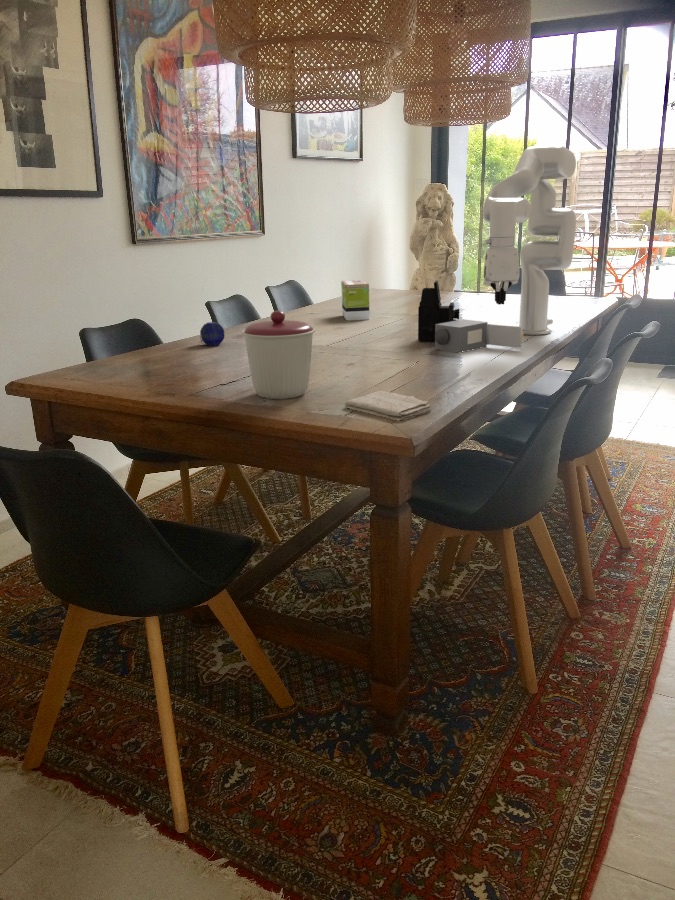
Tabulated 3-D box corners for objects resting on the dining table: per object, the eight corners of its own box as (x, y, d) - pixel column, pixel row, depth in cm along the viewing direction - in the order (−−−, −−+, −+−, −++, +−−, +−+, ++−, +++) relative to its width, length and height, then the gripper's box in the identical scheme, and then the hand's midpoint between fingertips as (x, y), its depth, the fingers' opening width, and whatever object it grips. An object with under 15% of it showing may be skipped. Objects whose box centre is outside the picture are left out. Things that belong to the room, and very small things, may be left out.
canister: (331, 395, 187) (329, 310, 180) (268, 408, 177) (263, 318, 171) (292, 383, 201) (289, 304, 194) (232, 393, 191) (227, 310, 185)
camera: (457, 343, 251) (459, 282, 244) (417, 343, 253) (417, 282, 247) (458, 338, 260) (460, 279, 254) (419, 338, 263) (420, 279, 256)
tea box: (341, 315, 319) (340, 280, 315) (364, 314, 320) (364, 279, 316) (345, 320, 305) (345, 283, 301) (370, 319, 306) (369, 283, 302)
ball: (203, 347, 254) (201, 325, 252) (198, 344, 261) (197, 322, 258) (226, 345, 257) (225, 323, 254) (221, 342, 264) (219, 320, 261)
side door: (485, 344, 243) (486, 324, 241) (488, 343, 244) (489, 323, 242) (520, 348, 236) (521, 327, 234) (522, 347, 237) (523, 326, 235)
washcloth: (401, 424, 164) (401, 410, 163) (342, 410, 176) (342, 397, 175) (434, 412, 172) (434, 399, 171) (375, 400, 184) (375, 387, 183)
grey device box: (462, 343, 252) (463, 319, 249) (487, 346, 244) (488, 322, 242) (432, 349, 242) (432, 324, 239) (457, 353, 235) (457, 328, 232)
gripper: (481, 245, 222) (480, 307, 228) (530, 242, 223) (527, 304, 230) (474, 243, 229) (473, 303, 235) (521, 240, 230) (519, 300, 237)
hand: (500, 303), depth 232 cm, fingers closed
